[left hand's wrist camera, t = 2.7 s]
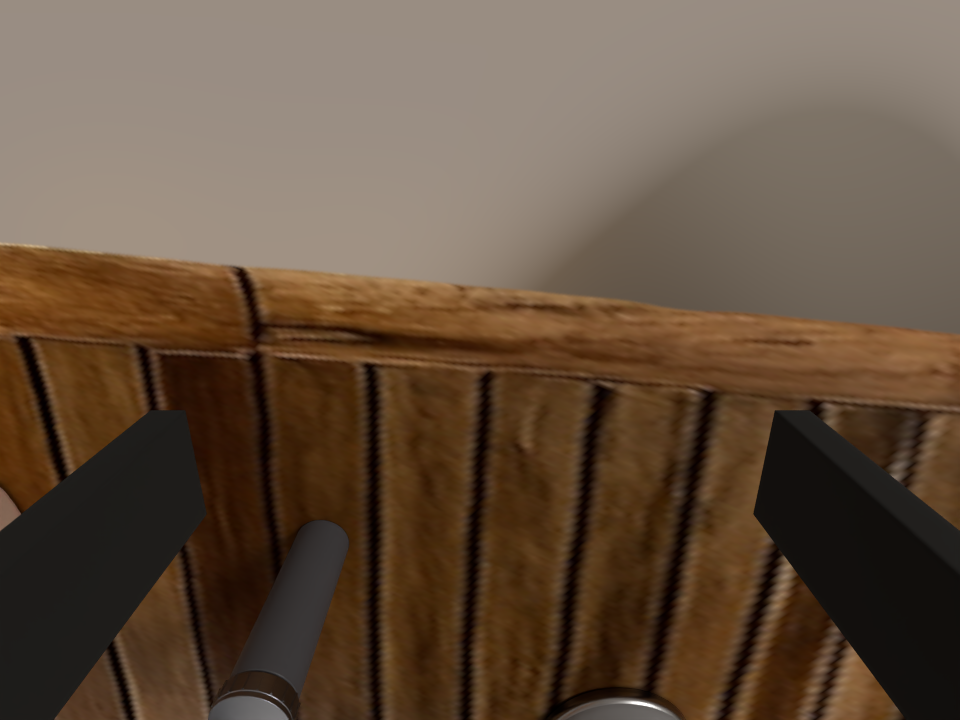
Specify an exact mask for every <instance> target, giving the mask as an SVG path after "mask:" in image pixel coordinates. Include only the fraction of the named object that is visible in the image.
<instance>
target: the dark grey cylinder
mask: <svg viewBox="0 0 960 720" xmlns="http://www.w3.org/2000/svg"><path fill="white" fill-rule="evenodd" d="M348 548H349V540H348V537H347V535H346V533H345V531H344V530H343V529H342V528H341V527H340V526H338V525H337V524H335V523H332V522H330V521H325V520H316V521H312V522H309V523H307V524H305V525H304V526H303V527H302V528H301V529H300V530H299V532H298V534H297V536H296V538H295V540H294V542H293V544H292V546H291V549H290V551H289V553H288V555H287V557H286V559H285V561H284V563H283V565H282V568H281V570H280V572H279V574H278V576H277V578H276V580H275V582H274V585H273V587H272V589H271V591H270V593H269V595H268V597H267V599H266V602H265V604H264V606H263V608H262V610H261V612H260V614H259V616H258V618H257V621H256V623H255V625H254V627H253V629H252V631H251V633H250V635H249V638H248V640H247V642H246V644H245V646H244V648H243V650H242V652H241V655H240V657H239V659H238V661H237V663H236V665H235V667H234V669H233V671H232V674H231V676H230V678H231V677H233V676H235V674H240V673H243V672H249V671H260V672H266V673H270V674H273V675H276V676H278V677H280V678H282V679H284V680H285V681H286V682H288V683H289V684H290V685H291V686H292V687H293V688H294V690H295V691H296V693H298V694H297V695H298V698H299V697H300V694H301V691H302V688H303V685H304V682H305V679H306V676H307V673H308V670H309V667H310V664H311V661H312V658H313V655H314V652H315V649H316V645H317V642H318V639H319V636H320V633H321V630H322V627H323V624H324V621H325V618H326V615H327V612H328V609H329V606H330V603H331V600H332V597H333V594H334V591H335V588H336V584H337V581H338V578H339V575H340V572H341V569H342V566H343V563H344V560H345V557H346V554H347V551H348ZM230 678H229V679H230Z"/></svg>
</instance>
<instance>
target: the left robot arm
mask: <svg viewBox="0 0 960 720" xmlns="http://www.w3.org/2000/svg"><path fill="white" fill-rule="evenodd" d="M205 516H206V509H205V504H204V499H203V494H202V490H201V485H200V480H199V475H198V470H197V465H196V461H195V456H194V451H193V446H192V441H191V437H190V432H189V427H188V422H187V417H186V413H185V410H151V411H149V412H148V413H147V414H146V415H144V416H143V417H142V418H141V419H139V420H138V421H137V422H136V423H134V424H133V425H132V426H131V427H129V428H128V429H127V430H126V431H124V432H123V433H122V434H121V435H119V436H118V437H117V438H116V439H114V440H113V441H112V442H111V443H109V444H108V445H107V446H106V447H104V448H103V449H102V450H101V451H99V452H98V453H97V454H96V455H94V456H93V457H92V458H91V459H89V460H88V461H87V462H86V463H84V464H83V465H82V466H81V467H79V468H78V469H77V470H76V471H74V472H73V473H72V474H71V475H69V476H68V477H67V478H66V479H64V480H63V481H62V482H61V483H59V484H58V485H57V486H56V487H54V488H53V489H52V490H51V491H49V492H48V493H47V494H46V495H44V496H43V497H42V498H41V499H39V500H38V501H37V502H36V503H34V504H33V505H32V506H31V507H29V508H28V509H27V510H26V511H24V512H23V513H22V514H21V515H19V516H18V517H17V518H16V519H14V520H13V521H12V522H11V523H10V524H8V525H7V526H6V527H5V528H3V529H2V530H1V531H0V720H54V719H55V717H56V716H57V714H58V713H59V712H60V710H61V709H62V708H63V706H64V705H65V704H66V702H67V701H68V700H69V698H70V697H71V696H72V694H73V693H74V692H75V690H76V689H77V688H78V686H79V685H80V684H81V682H82V681H83V680H84V678H85V677H86V676H87V674H88V673H89V671H90V670H91V669H92V667H93V666H94V665H95V663H96V662H97V661H98V659H99V658H100V657H101V655H102V654H103V653H104V651H105V650H106V649H107V647H108V646H109V645H110V643H111V642H112V641H113V639H114V638H115V637H116V635H117V634H118V633H119V631H120V630H121V628H122V627H123V626H124V624H125V623H126V622H127V620H128V619H129V618H130V616H131V615H132V614H133V612H134V611H135V610H136V608H137V607H138V606H139V604H140V603H141V602H142V600H143V599H144V598H145V596H146V595H147V594H148V592H149V591H150V590H151V588H152V587H153V585H154V584H155V583H156V581H157V580H158V579H159V577H160V576H161V575H162V573H163V572H164V571H165V569H166V568H167V567H168V565H169V564H170V563H171V561H172V560H173V559H174V557H175V556H176V555H177V553H178V552H179V551H180V549H181V548H182V547H183V545H184V544H185V542H186V541H187V540H188V538H189V537H190V536H191V534H192V533H193V532H194V530H195V529H196V528H197V526H198V525H199V524H200V522H201V521H202V520H203V518H204V517H205ZM754 516H755V517H756V518H757V520H758V521H759V522H760V524H761V525H762V526H763V528H764V529H765V530H766V532H767V533H768V534H769V536H770V537H771V538H772V540H773V541H774V542H775V544H776V545H777V547H778V548H779V549H780V551H781V552H782V553H783V555H784V556H785V557H786V559H787V560H788V561H789V563H790V564H791V565H792V567H793V568H794V569H795V571H796V572H797V573H798V575H799V576H800V577H801V579H802V580H803V581H804V583H805V584H806V585H807V587H808V588H809V590H810V591H811V592H812V594H813V595H814V596H815V598H816V599H817V600H818V602H819V603H820V604H821V606H822V607H823V608H824V610H825V611H826V612H827V614H828V615H829V616H830V618H831V619H832V620H833V622H834V623H835V624H836V626H837V627H838V628H839V630H840V631H841V633H842V634H843V635H844V637H845V638H846V639H847V641H848V642H849V643H850V645H851V646H852V647H853V649H854V650H855V651H856V653H857V654H858V655H859V657H860V658H861V659H862V661H863V662H864V663H865V665H866V666H867V667H868V669H869V670H870V671H871V673H872V674H873V676H874V677H875V678H876V680H877V681H878V682H879V684H880V685H881V686H882V688H883V689H884V690H885V692H886V693H887V694H888V696H889V697H890V698H891V700H892V701H893V702H894V704H895V705H896V706H897V708H898V709H899V710H900V712H901V713H902V714H903V716H904V717H905V719H906V720H960V531H959V530H958V529H957V528H955V527H954V526H953V525H952V524H950V523H949V522H948V521H947V520H945V519H944V518H943V517H942V516H941V515H939V514H938V513H937V512H936V511H934V510H933V509H932V508H931V507H929V506H928V505H927V504H926V503H924V502H923V501H922V500H921V499H919V498H918V497H917V496H916V495H914V494H913V493H912V492H911V491H909V490H908V489H907V488H906V487H904V486H903V485H902V484H901V483H899V482H898V481H897V480H896V479H894V478H893V477H892V476H891V475H889V474H888V473H887V472H886V471H884V470H883V469H882V468H881V467H879V466H878V465H877V464H876V463H874V462H873V461H872V460H871V459H869V458H868V457H867V456H866V455H864V454H863V453H862V452H861V451H859V450H858V449H857V448H856V447H854V446H853V445H852V444H851V443H849V442H848V441H847V440H846V439H844V438H843V437H842V436H841V435H839V434H838V433H837V432H836V431H834V430H833V429H832V428H831V427H829V426H828V425H827V424H826V423H824V422H823V421H822V420H821V419H819V418H818V417H817V416H816V415H814V414H813V413H812V412H811V411H809V410H775V413H774V417H773V422H772V427H771V432H770V437H769V441H768V446H767V451H766V456H765V461H764V465H763V470H762V475H761V480H760V485H759V490H758V494H757V499H756V504H755V509H754ZM546 720H685V718H684V716H683V715H682V713H681V712H680V711H679V710H678V709H677V708H676V707H675V706H674V705H673V704H672V703H670V702H669V701H667V700H666V699H664V698H662V697H660V696H658V695H656V694H653V693H650V692H646V691H643V690H638V689H630V688H609V689H601V690H596V691H592V692H588V693H585V694H582V695H579V696H577V697H575V698H573V699H571V700H569V701H567V702H565V703H564V704H562V705H561V706H559V707H558V708H557V709H556V710H554V711H553V712H552V713H551V714H550V715H549V717H548V718H547V719H546Z"/></svg>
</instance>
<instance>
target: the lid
mask: <svg viewBox="0 0 960 720" xmlns="http://www.w3.org/2000/svg"><path fill="white" fill-rule="evenodd" d="M297 694H298V693H296V691H295V690H294V688H293V687H292V686H291V685H290V684H289V683H288V682H286V681H285V680H284V679H282V678H280V677H278V676H276V675H273V674H270V673H266V672H260V671H249V672H243V673H240V674H235V676H233V677H231V678H230V679H228V680H226V681H225V682H224V684H223V686H222V688H221V689H219V691H218V693H217V695H216V697H215V699H214V701H213V704H212V706H211V707H212V709H211V711H210V713H209V717H208V720H297V717H298V713H299V712H298V710H299V707H300V703H299V698H298V695H297Z"/></svg>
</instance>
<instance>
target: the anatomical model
mask: <svg viewBox="0 0 960 720" xmlns="http://www.w3.org/2000/svg"><path fill="white" fill-rule="evenodd" d="M19 515H21V513H20V512H19V510H18V508H17V507H16V505H15V504H14V502H13V501H12V500H11V498H10V497H9V496H8V495H7V493H6V492H5V491H4V490H3V489H2V488H1V487H0V531H1V530H2V529H3V528H5V527H6V526H7V525H8V524H10V523H11V522H12V521H13V520H14V519H16V518H17V517H18V516H19Z"/></svg>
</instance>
